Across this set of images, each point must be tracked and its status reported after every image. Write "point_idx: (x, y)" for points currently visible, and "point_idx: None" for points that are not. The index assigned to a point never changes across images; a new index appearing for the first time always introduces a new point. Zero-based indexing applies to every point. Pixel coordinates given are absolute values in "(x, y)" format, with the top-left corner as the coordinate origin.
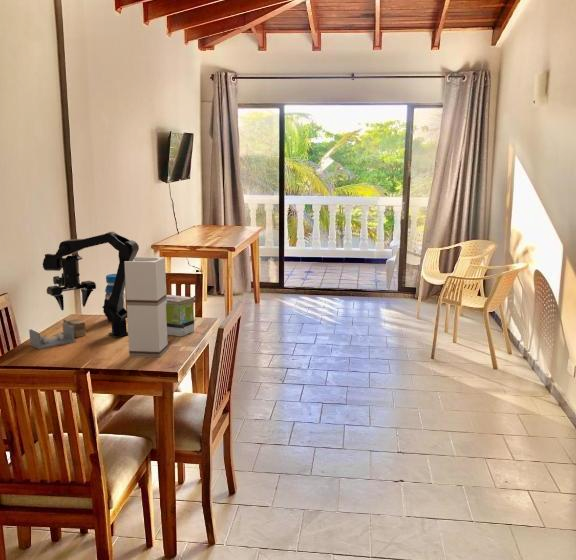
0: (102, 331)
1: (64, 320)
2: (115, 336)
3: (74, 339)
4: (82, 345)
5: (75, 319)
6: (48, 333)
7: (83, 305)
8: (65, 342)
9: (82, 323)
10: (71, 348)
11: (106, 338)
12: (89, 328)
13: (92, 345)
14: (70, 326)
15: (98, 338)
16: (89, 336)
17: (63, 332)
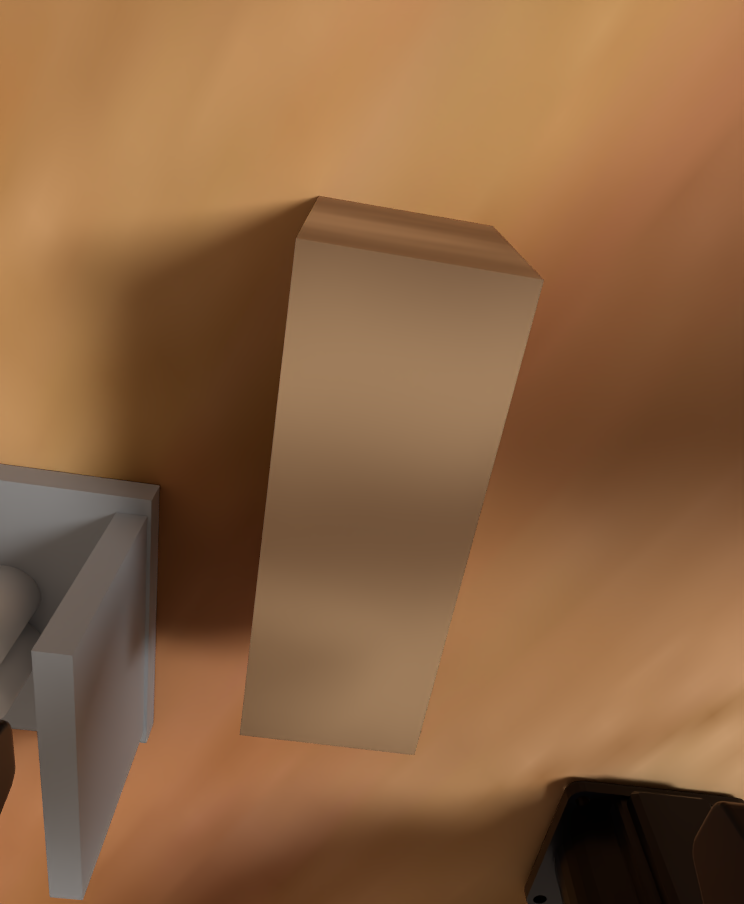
0: (649, 634)
1: (290, 299)
2: (527, 892)
3: (143, 731)
4: (140, 849)
5: (458, 483)
6: (49, 45)
7: (716, 863)
8: (19, 721)
9: (372, 741)
10: (8, 848)
11: (452, 843)
12: (694, 376)
13: (211, 901)
14: (52, 865)
15: (402, 795)
16: None
17: (97, 552)
